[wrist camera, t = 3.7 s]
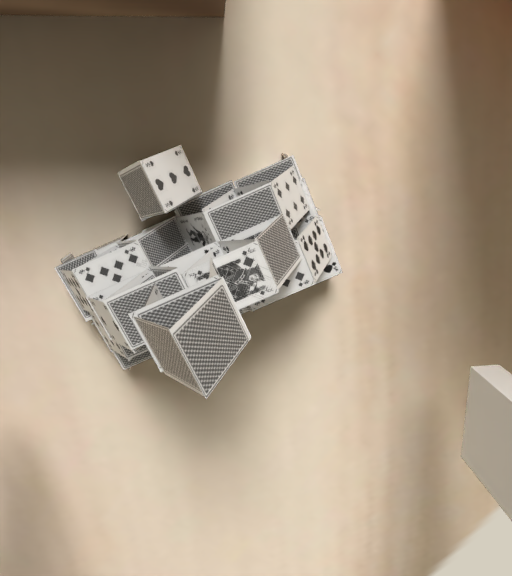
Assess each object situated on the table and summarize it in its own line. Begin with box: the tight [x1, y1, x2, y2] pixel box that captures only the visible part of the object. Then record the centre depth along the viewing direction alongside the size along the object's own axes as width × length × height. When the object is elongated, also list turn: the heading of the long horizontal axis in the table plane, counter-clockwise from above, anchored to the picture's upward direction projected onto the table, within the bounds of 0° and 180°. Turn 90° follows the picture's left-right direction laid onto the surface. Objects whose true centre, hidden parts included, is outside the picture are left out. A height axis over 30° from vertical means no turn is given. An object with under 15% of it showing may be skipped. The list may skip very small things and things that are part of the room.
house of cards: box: [55, 145, 343, 399], centre depth 10 cm, size 9×9×8 cm
